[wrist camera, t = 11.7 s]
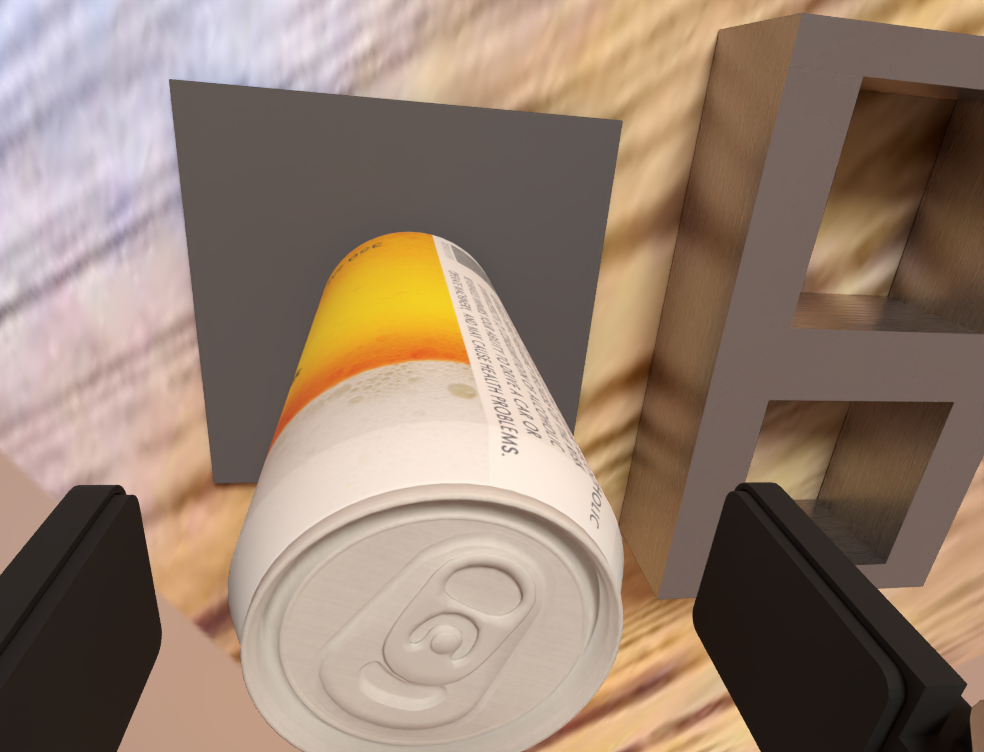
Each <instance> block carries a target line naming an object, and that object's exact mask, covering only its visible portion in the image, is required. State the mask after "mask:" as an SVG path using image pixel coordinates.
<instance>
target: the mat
mask: <svg viewBox="0 0 984 752" xmlns="http://www.w3.org/2000/svg"><path fill="white" fill-rule="evenodd" d="M169 84H170V93H171V102H172V111H173V120H174V129H175V138H176V147H177V156H178V165H179V174H180V183H181V192H182V201H183V210H184V219H185V228H186V237H187V246H188V255H189V264H190V273H191V282H192V291H193V300H194V309H195V318H196V327H197V336H198V345H199V354H200V363H201V372H202V381H203V390H204V399H205V408H206V417H207V426H208V434H209V443H210V452H211V461H212V470H213V479H214V483H258V481H259V478H260V475H261V472H262V469H263V466H264V463H265V460H266V457H267V454H268V452H269V449H270V446H271V443H272V440H273V437H274V434H275V431H276V428H277V425H278V422H279V420H280V417H281V414H282V411H283V408H284V405H285V402H286V399H287V396H288V393H289V390H290V388H291V385H292V382H293V379H294V376H295V373H296V370H297V367H298V364H299V361H300V358H301V356H302V353H303V350H304V347H305V344H306V341H307V338H308V335H309V332H310V329H311V326H312V324H313V321H314V318H315V315H316V312H317V309H318V306H319V303H320V300H321V297H322V294H323V292H324V289H325V286H326V284H327V282H328V279H329V277H330V276H331V274H332V273H333V271H334V269H335V268H336V267H337V265H338V264H339V263H340V262H341V261H342V260H343V259H344V258H345V257H346V256H347V255H348V254H349V253H350V252H351V251H353V250H354V249H356V248H357V247H358V246H360V245H362V244H364V243H365V242H367V241H369V240H372V239H374V238H377V237H379V236H383V235H387V234H391V233H398V232H419V233H426V234H431V235H434V236H437V237H441V238H443V239H445V240H448V241H450V242H452V243H454V244H455V245H457V246H459V247H460V248H462V249H463V250H464V251H466V252H467V253H468V254H470V255H471V256H472V257H473V258H474V259H475V260H476V261H477V263H478V264H479V265H480V266H481V268H482V269H483V270H484V272H485V274H486V275H487V277H488V278H489V280H490V282H491V284H492V286H493V288H494V290H495V292H496V293H497V295H498V297H499V299H500V301H501V303H502V305H503V306H504V308H505V310H506V312H507V314H508V316H509V318H510V319H511V321H512V323H513V325H514V327H515V329H516V331H517V333H518V334H519V336H520V338H521V340H522V342H523V344H524V346H525V347H526V349H527V351H528V353H529V355H530V357H531V359H532V360H533V362H534V364H535V366H536V368H537V370H538V372H539V374H540V375H541V377H542V379H543V381H544V383H545V385H546V387H547V388H548V390H549V392H550V394H551V396H552V398H553V400H554V401H555V403H556V405H557V407H558V409H559V411H560V413H561V415H562V416H563V418H564V420H565V422H566V424H567V426H568V428H569V429H570V431H571V433H572V435H573V436H574V429H575V423H576V416H577V410H578V404H579V397H580V391H581V384H582V378H583V372H584V365H585V359H586V352H587V346H588V339H589V333H590V327H591V320H592V314H593V307H594V301H595V295H596V288H597V282H598V275H599V269H600V263H601V256H602V250H603V243H604V237H605V230H606V224H607V218H608V211H609V205H610V198H611V192H612V186H613V179H614V173H615V166H616V160H617V154H618V147H619V141H620V134H621V128H622V121H620V120H610V119H599V118H588V117H577V116H566V115H555V114H544V113H533V112H523V111H512V110H501V109H490V108H479V107H468V106H457V105H446V104H435V103H424V102H413V101H402V100H391V99H380V98H370V97H359V96H348V95H337V94H326V93H315V92H304V91H293V90H282V89H271V88H260V87H249V86H238V85H228V84H217V83H206V82H195V81H184V80H173V79H169Z"/></svg>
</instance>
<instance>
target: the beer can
mask: <svg viewBox="0 0 984 752" xmlns="http://www.w3.org/2000/svg"><path fill="white" fill-rule="evenodd" d="M623 570H624V552H623V543H622V537H621V533H620V530H619V526H618V522H617V520H616V517H615V515H614V513H613V511H612V508H611V506H610V504H609V502H608V500H607V498H606V497H605V495H604V493H603V491H602V489H601V487H600V485H599V484H598V482H597V480H596V478H595V476H594V474H593V472H592V470H591V469H590V467H589V465H588V463H587V461H586V459H585V457H584V456H583V454H582V452H581V450H580V448H579V446H578V444H577V443H576V441H575V439H574V437H573V435H572V433H571V431H570V429H569V428H568V426H567V424H566V422H565V420H564V418H563V416H562V415H561V413H560V411H559V409H558V407H557V405H556V403H555V401H554V400H553V398H552V396H551V394H550V392H549V390H548V388H547V387H546V385H545V383H544V381H543V379H542V377H541V375H540V374H539V372H538V370H537V368H536V366H535V364H534V362H533V360H532V359H531V357H530V355H529V353H528V351H527V349H526V347H525V346H524V344H523V342H522V340H521V338H520V336H519V334H518V333H517V331H516V329H515V327H514V325H513V323H512V321H511V319H510V318H509V316H508V314H507V312H506V310H505V308H504V306H503V305H502V303H501V301H500V299H499V297H498V295H497V293H496V292H495V290H494V288H493V286H492V284H491V282H490V280H489V278H488V277H487V275H486V274H485V272H484V270H483V269H482V268H481V266H480V265H479V264H478V263H477V261H476V260H475V259H474V258H473V257H472V256H471V255H470V254H468V253H467V252H466V251H464V250H463V249H462V248H460V247H459V246H457V245H455V244H454V243H452V242H450V241H448V240H445V239H443V238H441V237H437V236H434V235H431V234H426V233H419V232H398V233H391V234H387V235H383V236H379V237H377V238H374V239H372V240H369V241H367V242H365V243H364V244H362V245H360V246H358V247H357V248H356V249H354V250H353V251H351V252H350V253H349V254H348V255H347V256H346V257H345V258H344V259H343V260H342V261H341V262H340V263H339V264H338V265H337V267H336V268H335V269H334V271H333V273H332V274H331V276H330V277H329V279H328V282H327V284H326V286H325V289H324V292H323V294H322V297H321V300H320V303H319V306H318V309H317V312H316V315H315V318H314V321H313V324H312V326H311V329H310V332H309V335H308V338H307V341H306V344H305V347H304V350H303V353H302V356H301V358H300V361H299V364H298V367H297V370H296V373H295V376H294V379H293V382H292V385H291V388H290V390H289V393H288V396H287V399H286V402H285V405H284V408H283V411H282V414H281V417H280V420H279V422H278V425H277V428H276V431H275V434H274V437H273V440H272V443H271V446H270V449H269V452H268V454H267V457H266V460H265V463H264V466H263V469H262V472H261V475H260V478H259V481H258V484H257V486H256V489H255V492H254V495H253V498H252V501H251V504H250V507H249V510H248V513H247V516H246V518H245V521H244V524H243V527H242V530H241V533H240V536H239V539H238V542H237V545H236V548H235V551H234V554H233V557H232V560H231V566H230V572H229V578H228V602H229V608H230V614H231V619H232V622H233V625H234V628H235V631H236V634H237V637H238V640H239V643H240V645H241V666H242V673H243V678H244V681H245V684H246V687H247V690H248V693H249V695H250V697H251V699H252V701H253V703H254V705H255V707H256V709H257V710H258V711H259V713H260V714H261V716H262V717H263V718H264V720H265V721H266V722H267V723H268V724H269V725H270V726H271V727H272V728H273V729H274V730H275V731H276V733H277V734H279V735H280V736H281V737H282V738H284V739H285V740H286V741H287V742H289V743H290V744H291V745H293V746H294V747H296V748H297V749H299V750H301V751H302V752H523V751H525V750H527V749H529V748H531V747H533V746H535V745H536V744H538V743H540V742H541V741H543V740H545V739H546V738H548V737H549V736H551V735H552V734H554V733H555V732H556V731H558V730H559V729H561V728H562V727H563V726H564V725H566V724H567V723H568V722H569V721H570V720H572V719H573V718H574V717H575V716H576V715H577V714H578V713H579V712H580V711H581V710H582V709H583V708H584V707H585V706H586V705H587V704H588V703H589V702H590V700H591V699H592V698H593V697H594V695H595V694H596V693H597V692H598V690H599V689H600V687H601V686H602V684H603V682H604V681H605V679H606V678H607V676H608V674H609V672H610V670H611V668H612V666H613V664H614V662H615V659H616V656H617V653H618V650H619V647H620V642H621V637H622V631H623V608H622V600H621V594H620V593H621V586H622V579H623Z"/></svg>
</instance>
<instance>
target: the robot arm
mask: <svg viewBox="0 0 984 752" xmlns="http://www.w3.org/2000/svg"><path fill="white" fill-rule="evenodd" d="M693 624H694V627H695V630H696V632H697V634H698V636H699V638H700V640H701V642H702V644H703V645H704V647H705V649H706V651H707V653H708V655H709V656H710V658H711V660H712V662H713V664H714V666H715V668H716V669H717V671H718V673H719V675H720V677H721V679H722V681H723V682H724V684H725V686H726V688H727V690H728V692H729V693H730V695H731V697H732V699H733V701H734V703H735V705H736V706H737V708H738V710H739V712H740V714H741V716H742V718H743V719H744V721H745V723H746V725H747V727H748V729H749V730H750V732H751V734H752V736H753V738H754V740H755V742H756V743H757V745H758V747H759V749H760V751H761V752H984V700H980V701H979V702H978V703H977V704H976V705H974V706H973V707H971V706H970V705H969V704H968V703H967V702H966V701H965V700H964V699H963V698H962V696H961V694H962V693H963V691H964V689H965V688H966V686H967V683H966V682H965V681H964V680H963V679H962V678H961V677H960V676H959V675H958V674H957V673H956V671H955V670H954V669H953V668H952V667H951V666H950V665H949V664H948V663H947V662H946V661H945V660H944V659H943V658H942V657H941V656H940V655H939V653H938V652H937V651H936V650H935V649H934V648H933V647H932V646H931V645H930V644H929V643H928V642H927V641H926V640H925V639H924V638H923V637H922V636H921V634H920V633H919V632H918V631H917V630H916V629H915V628H914V627H913V626H912V625H911V624H910V623H909V622H908V621H907V620H906V619H905V618H904V617H903V615H902V614H901V613H900V612H899V611H898V610H897V609H896V608H895V607H894V606H893V605H892V604H891V603H890V602H889V601H888V600H887V599H886V598H885V596H884V595H883V594H882V593H881V592H880V591H879V590H878V589H877V588H876V587H875V586H874V585H873V584H872V583H871V582H870V581H869V580H868V579H867V577H866V576H865V575H864V574H863V573H862V572H861V571H860V570H859V569H858V568H857V567H856V566H855V565H854V564H853V563H852V562H851V561H850V559H849V558H848V557H847V556H846V555H845V554H844V553H843V552H842V551H841V550H840V549H839V548H838V547H837V546H836V545H835V544H834V543H833V542H832V540H831V539H830V538H829V537H828V536H827V535H826V534H825V533H824V532H823V531H822V530H821V529H820V528H819V527H818V526H817V525H816V524H815V523H814V521H813V520H812V519H811V518H810V517H809V516H808V515H807V514H806V513H805V512H804V511H803V510H802V509H801V508H800V507H799V506H798V505H797V504H796V502H795V501H794V500H793V499H792V498H791V497H790V496H789V495H788V494H787V493H786V492H785V491H784V490H783V489H782V488H781V487H780V486H779V485H778V484H776V483H772V482H766V483H740V484H739V485H738V486H737V487H736V488H735V490H734V491H731V492H729V493H728V494H727V496H726V498H725V501H724V505H723V508H722V511H721V515H720V518H719V522H718V525H717V529H716V532H715V535H714V539H713V542H712V546H711V549H710V552H709V556H708V559H707V563H706V566H705V569H704V573H703V576H702V580H701V583H700V587H699V590H698V593H697V597H696V600H695V604H694V607H693ZM161 639H162V629H161V623H160V617H159V611H158V606H157V600H156V595H155V589H154V584H153V578H152V573H151V567H150V561H149V556H148V550H147V545H146V539H145V534H144V528H143V523H142V517H141V512H140V506H139V502H138V499H137V497H136V496H135V495H126V492H125V490H124V488H123V487H122V486H120V485H78V486H74V487H73V488H72V489H71V490H70V491H69V492H68V493H67V494H66V496H65V497H64V498H63V499H62V500H61V502H60V503H59V504H58V505H57V507H56V508H55V509H54V510H53V511H52V513H51V514H50V515H49V516H48V518H47V519H46V520H45V521H44V522H43V524H42V525H41V526H40V527H39V529H38V530H37V531H36V532H35V533H34V535H33V536H32V537H31V538H30V540H29V541H28V542H27V543H26V545H25V546H24V547H23V548H22V550H21V551H20V552H19V553H18V554H17V555H16V557H15V558H14V559H13V560H12V562H11V563H10V564H9V565H8V566H7V568H6V569H5V570H4V571H3V573H2V574H1V575H0V752H117V750H118V748H119V745H120V743H121V741H122V738H123V736H124V733H125V731H126V729H127V726H128V724H129V722H130V719H131V717H132V715H133V712H134V710H135V708H136V705H137V703H138V701H139V698H140V696H141V694H142V691H143V689H144V687H145V684H146V682H147V679H148V677H149V675H150V673H151V670H152V668H153V666H154V663H155V661H156V659H157V656H158V653H159V650H160V646H161Z"/></svg>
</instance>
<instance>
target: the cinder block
mask: <svg viewBox="0 0 984 752" xmlns="http://www.w3.org/2000/svg"><path fill="white" fill-rule="evenodd" d="M859 90H868V91H877V92H886V93H896V94H905V95H914V96H923V97H933V98H942V99H951V100H957V102H956V105H955V108H954V111H953V114H952V117H951V119H950V122H949V125H948V128H947V131H946V134H945V137H944V139H943V142H942V145H941V148H940V151H939V154H938V157H937V159H936V162H935V165H934V168H933V171H932V174H931V176H930V179H929V182H928V185H927V188H926V191H925V194H924V196H923V199H922V202H921V205H920V208H919V211H918V214H917V216H916V219H915V222H914V225H913V228H912V231H911V233H910V236H909V239H908V242H907V245H906V248H905V251H904V253H903V256H902V259H901V262H900V265H899V268H898V271H897V273H896V276H895V279H894V282H893V285H892V288H891V290H890V293H889V296H888V297H886V296H863V295H840V294H817V293H800V292H801V289H802V285H803V282H804V278H805V275H806V271H807V268H808V265H809V261H810V258H811V254H812V251H813V247H814V244H815V241H816V237H817V234H818V230H819V227H820V223H821V220H822V217H823V213H824V210H825V206H826V203H827V199H828V196H829V193H830V189H831V186H832V182H833V179H834V175H835V172H836V169H837V165H838V162H839V158H840V155H841V151H842V148H843V145H844V141H845V138H846V134H847V131H848V127H849V124H850V121H851V117H852V114H853V110H854V107H855V103H856V100H857V97H858V93H859ZM769 400H805V401H852V402H851V404H850V407H849V410H848V413H847V416H846V419H845V422H844V424H843V427H842V430H841V433H840V436H839V439H838V442H837V444H836V447H835V450H834V453H833V456H832V459H831V461H830V464H829V467H828V470H827V473H826V476H825V479H824V481H823V484H822V487H821V490H820V493H819V496H818V499H817V500H794V501H795V502H796V504H797V505H798V506H799V507H800V508H801V509H802V510H803V511H804V512H805V513H806V514H807V515H808V516H809V517H810V518H811V519H812V520H813V521H814V523H815V524H816V525H817V526H818V527H819V528H820V529H821V530H822V531H823V532H824V533H825V534H826V535H827V536H828V537H829V538H830V539H831V540H832V542H833V543H834V544H835V545H836V546H837V547H838V548H839V549H840V550H841V551H842V552H843V553H844V554H845V555H846V556H847V557H848V558H849V559H850V561H851V562H852V563H853V564H854V565H855V566H856V567H857V568H858V569H859V570H860V571H861V572H862V573H863V574H864V575H865V576H866V577H867V579H868V580H869V581H870V582H871V583H872V584H873V585H874V586H875V587H876V588H877V589H880V588H900V587H920V586H923V585H924V583H925V581H926V578H927V576H928V574H929V572H930V570H931V568H932V565H933V563H934V561H935V559H936V557H937V555H938V552H939V550H940V548H941V546H942V544H943V542H944V540H945V537H946V535H947V533H948V531H949V529H950V527H951V524H952V522H953V520H954V518H955V516H956V514H957V511H958V509H959V507H960V505H961V503H962V501H963V498H964V496H965V494H966V492H967V490H968V488H969V486H970V483H971V481H972V479H973V477H974V475H975V473H976V470H977V468H978V466H979V464H980V462H981V460H982V457H983V455H984V36H976V35H969V34H961V33H953V32H946V31H938V30H930V29H923V28H915V27H907V26H899V25H892V24H884V23H876V22H869V21H861V20H853V19H846V18H838V17H830V16H823V15H815V14H807V13H799V14H794V15H789V16H784V17H779V18H774V19H769V20H764V21H759V22H755V23H750V24H745V25H740V26H735V27H730V28H725V29H720V30H719V35H718V40H717V44H716V49H715V54H714V59H713V64H712V69H711V74H710V79H709V84H708V89H707V94H706V99H705V104H704V109H703V114H702V119H701V123H700V128H699V133H698V138H697V143H696V148H695V153H694V158H693V163H692V168H691V173H690V178H689V183H688V188H687V193H686V197H685V202H684V207H683V212H682V217H681V222H680V227H679V232H678V237H677V242H676V247H675V252H674V257H673V262H672V267H671V271H670V276H669V281H668V286H667V291H666V296H665V301H664V306H663V311H662V316H661V321H660V326H659V331H658V336H657V341H656V346H655V350H654V355H653V360H652V365H651V370H650V375H649V380H648V385H647V390H646V395H645V400H644V405H643V410H642V415H641V420H640V424H639V429H638V434H637V439H636V444H635V449H634V454H633V459H632V464H631V469H630V474H629V479H628V484H627V489H626V494H625V499H624V503H623V508H622V513H621V518H620V523H619V529H620V531H621V533H622V535H623V537H624V538H625V540H626V542H627V544H628V546H629V548H630V550H631V551H632V553H633V555H634V557H635V559H636V561H637V563H638V565H639V566H640V568H641V570H642V572H643V574H644V576H645V578H646V579H647V581H648V583H649V585H650V587H651V589H652V591H653V593H654V594H655V596H656V598H657V600H658V599H678V598H696V597H697V593H698V590H699V587H700V583H701V580H702V576H703V573H704V569H705V566H706V563H707V559H708V556H709V552H710V549H711V546H712V542H713V539H714V535H715V532H716V529H717V525H718V522H719V518H720V515H721V511H722V508H723V505H724V501H725V498H726V496H727V494H728V493H729V492H731V491H734V490H735V488H736V487H737V486H738V485H739V484H740V483H745V481H746V477H747V474H748V470H749V467H750V463H751V460H752V457H753V453H754V450H755V446H756V443H757V439H758V436H759V433H760V429H761V426H762V422H763V419H764V415H765V412H766V409H767V405H768V402H769Z"/></svg>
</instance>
